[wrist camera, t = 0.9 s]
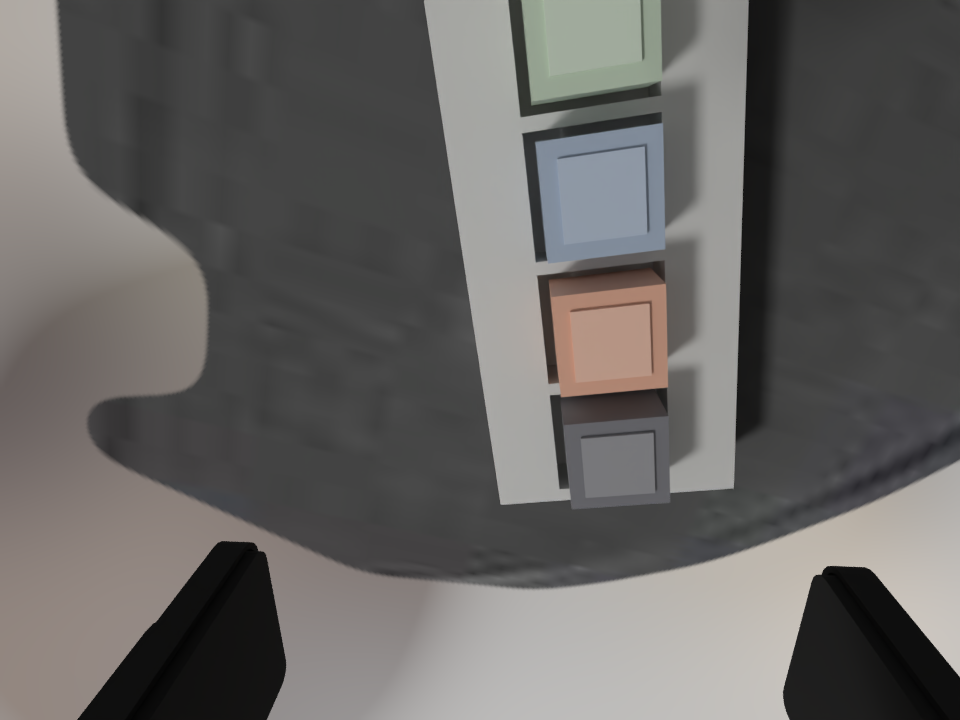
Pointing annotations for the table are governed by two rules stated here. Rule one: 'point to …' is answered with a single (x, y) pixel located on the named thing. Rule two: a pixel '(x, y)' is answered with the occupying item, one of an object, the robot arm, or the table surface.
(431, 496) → the table surface
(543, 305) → the keypad
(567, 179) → the key slate
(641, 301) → the key terracotta
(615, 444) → the key charcoal
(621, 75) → the key sage
